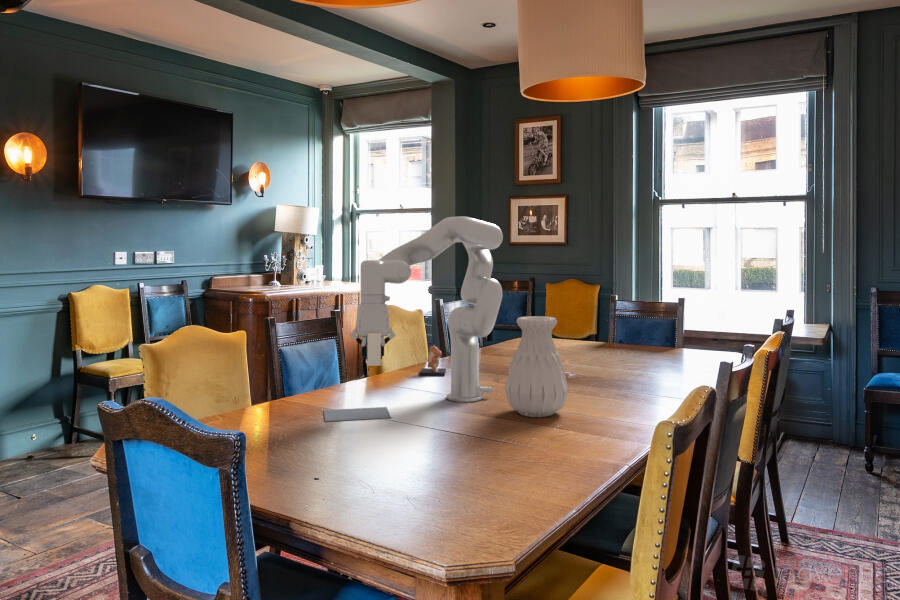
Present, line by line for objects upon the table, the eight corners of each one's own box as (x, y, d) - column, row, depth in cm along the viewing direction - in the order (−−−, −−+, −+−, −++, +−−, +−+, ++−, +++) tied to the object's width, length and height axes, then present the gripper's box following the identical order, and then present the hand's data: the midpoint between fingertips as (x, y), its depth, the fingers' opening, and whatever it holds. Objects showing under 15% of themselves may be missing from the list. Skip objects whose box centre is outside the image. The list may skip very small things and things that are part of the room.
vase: (527, 424, 204) (528, 323, 202) (492, 410, 222) (492, 316, 219) (581, 416, 213) (583, 319, 211) (544, 403, 231) (544, 313, 229)
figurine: (444, 376, 279) (444, 347, 278) (419, 376, 279) (419, 347, 279) (445, 372, 289) (445, 343, 288) (421, 371, 289) (421, 343, 289)
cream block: (378, 361, 220) (378, 330, 219) (380, 365, 213) (380, 333, 212) (365, 362, 219) (365, 330, 218) (367, 365, 212) (367, 333, 211)
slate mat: (386, 407, 225) (386, 406, 225) (391, 418, 212) (391, 417, 211) (323, 411, 221) (323, 410, 221) (325, 422, 208) (325, 421, 207)
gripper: (398, 299, 220) (398, 356, 221) (344, 299, 217) (345, 357, 218) (401, 300, 213) (401, 359, 214) (346, 301, 209) (346, 361, 211)
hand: (372, 358), depth 216 cm, fingers closed on cream block, 4 cm apart
